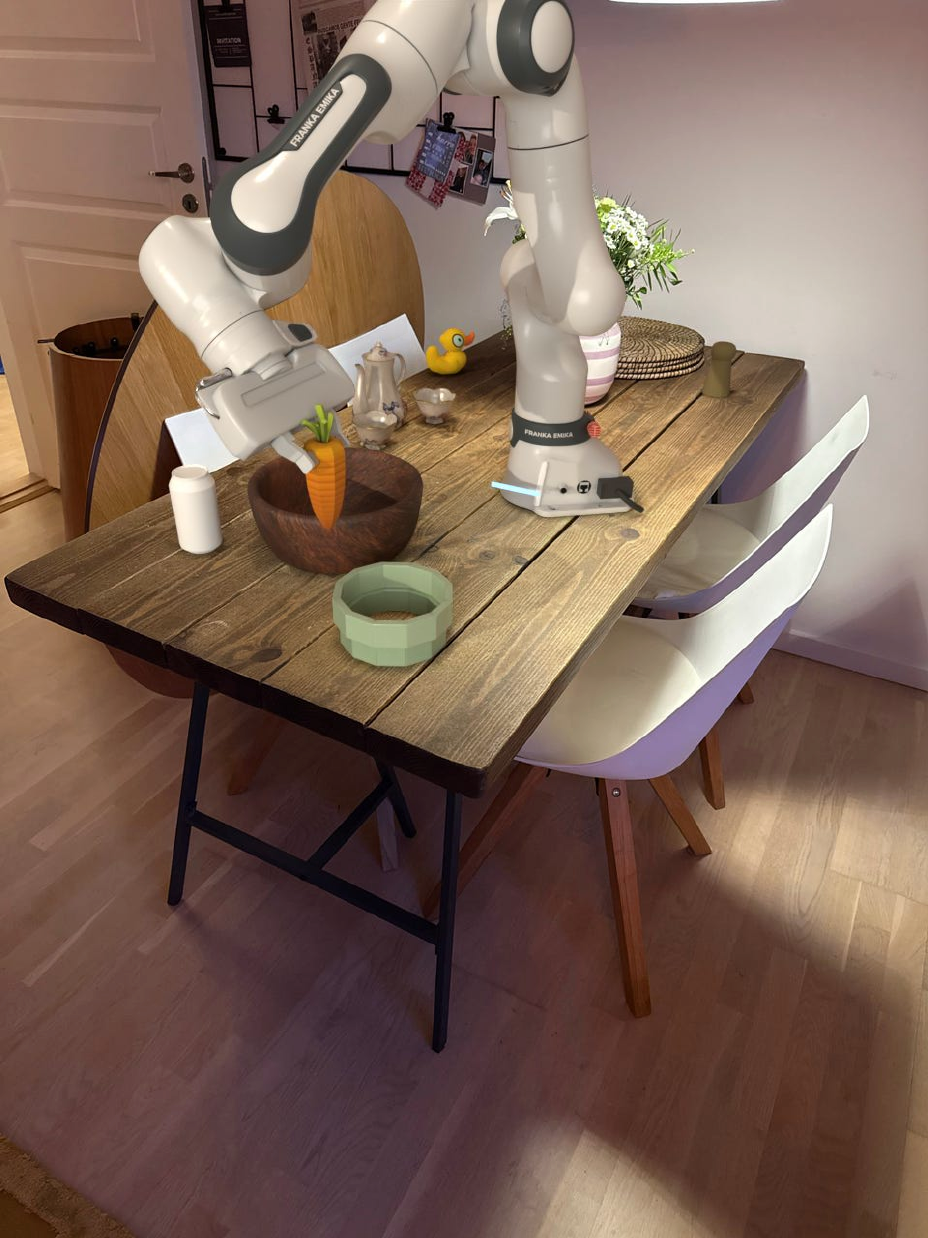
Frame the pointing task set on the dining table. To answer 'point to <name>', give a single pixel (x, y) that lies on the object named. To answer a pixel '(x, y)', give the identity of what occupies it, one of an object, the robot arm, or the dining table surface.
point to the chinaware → (389, 399)
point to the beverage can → (195, 509)
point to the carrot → (326, 469)
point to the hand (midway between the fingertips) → (329, 459)
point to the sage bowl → (393, 592)
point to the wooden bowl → (367, 523)
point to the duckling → (449, 352)
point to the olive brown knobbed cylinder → (719, 370)
